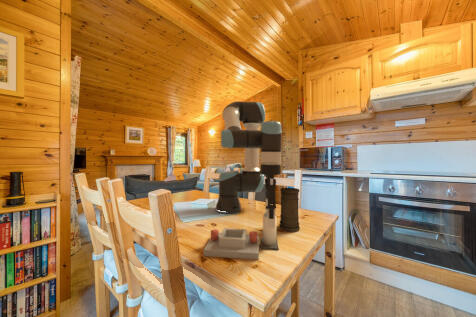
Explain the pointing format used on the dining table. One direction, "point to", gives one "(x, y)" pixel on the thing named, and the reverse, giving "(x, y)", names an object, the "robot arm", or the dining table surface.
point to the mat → (274, 247)
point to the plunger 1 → (214, 234)
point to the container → (289, 210)
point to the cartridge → (269, 232)
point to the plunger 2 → (253, 237)
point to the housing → (233, 245)
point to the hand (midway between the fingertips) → (269, 220)
